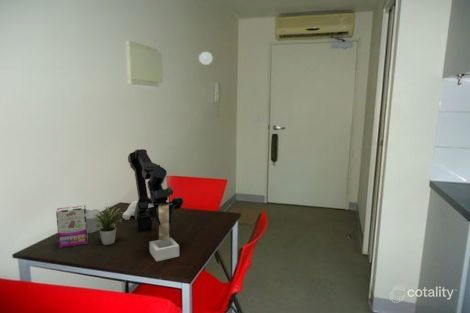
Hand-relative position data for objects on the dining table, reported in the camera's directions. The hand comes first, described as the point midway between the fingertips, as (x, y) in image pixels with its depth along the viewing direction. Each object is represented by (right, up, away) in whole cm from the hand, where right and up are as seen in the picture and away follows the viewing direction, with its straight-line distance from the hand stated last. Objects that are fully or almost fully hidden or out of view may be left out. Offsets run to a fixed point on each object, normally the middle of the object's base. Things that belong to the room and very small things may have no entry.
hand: (165, 224), depth 128 cm
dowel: (-1, -6, +2) cm, 7 cm away
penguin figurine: (-28, -6, +45) cm, 54 cm away
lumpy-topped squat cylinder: (-44, -8, +30) cm, 54 cm away
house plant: (-28, -11, +12) cm, 33 cm away
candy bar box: (-42, -11, +11) cm, 45 cm away
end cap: (-1, -13, +3) cm, 13 cm away
